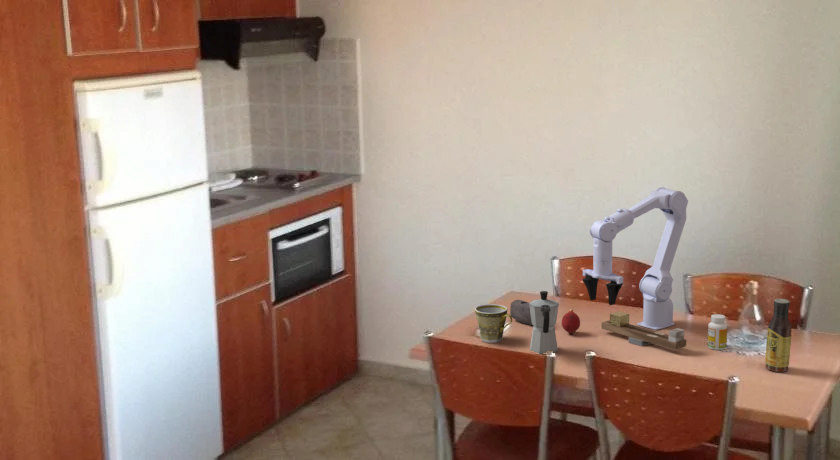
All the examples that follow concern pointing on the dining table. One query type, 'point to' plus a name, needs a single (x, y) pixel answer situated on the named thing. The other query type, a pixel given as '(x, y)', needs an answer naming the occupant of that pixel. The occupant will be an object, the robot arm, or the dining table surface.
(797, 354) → the dining table surface
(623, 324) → the block
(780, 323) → the sauce bottle
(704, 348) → the dining table surface
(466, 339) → the dining table surface
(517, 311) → the perforated stone tool
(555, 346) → the coffee maker
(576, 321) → the onion
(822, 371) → the dining table surface
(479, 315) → the ceramic cup
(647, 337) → the beam
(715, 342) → the supplement bottle
